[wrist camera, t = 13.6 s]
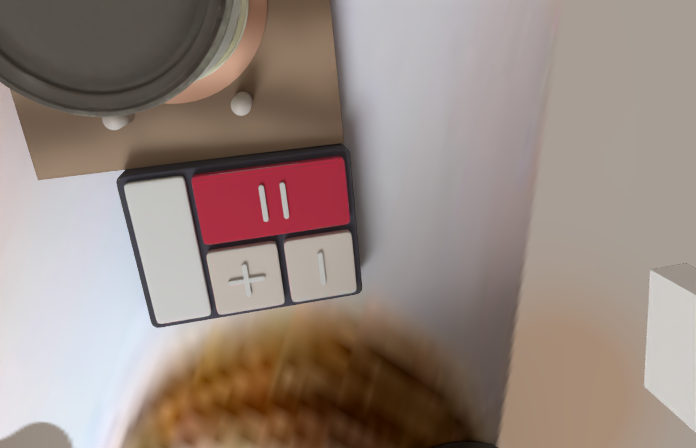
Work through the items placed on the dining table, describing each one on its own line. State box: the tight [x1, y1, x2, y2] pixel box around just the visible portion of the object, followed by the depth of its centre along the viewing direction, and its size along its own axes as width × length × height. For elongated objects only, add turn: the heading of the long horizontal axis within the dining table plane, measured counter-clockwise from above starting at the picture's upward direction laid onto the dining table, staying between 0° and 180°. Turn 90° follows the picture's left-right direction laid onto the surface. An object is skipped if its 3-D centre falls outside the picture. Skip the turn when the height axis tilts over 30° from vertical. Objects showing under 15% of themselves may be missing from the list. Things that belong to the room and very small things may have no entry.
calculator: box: [117, 143, 362, 327], centre depth 37 cm, size 11×4×15 cm
